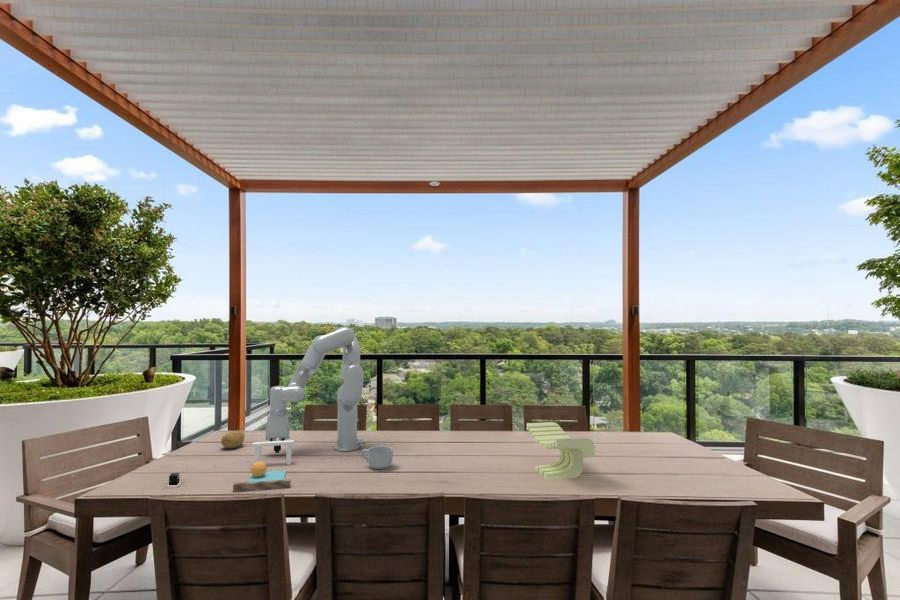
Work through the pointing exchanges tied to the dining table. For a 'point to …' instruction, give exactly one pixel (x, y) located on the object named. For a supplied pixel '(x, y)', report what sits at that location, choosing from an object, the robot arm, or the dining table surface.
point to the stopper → (262, 485)
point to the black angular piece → (174, 478)
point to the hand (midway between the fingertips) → (277, 452)
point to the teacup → (379, 456)
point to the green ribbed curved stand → (561, 450)
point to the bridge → (274, 443)
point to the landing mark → (269, 476)
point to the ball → (258, 469)
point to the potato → (233, 439)
